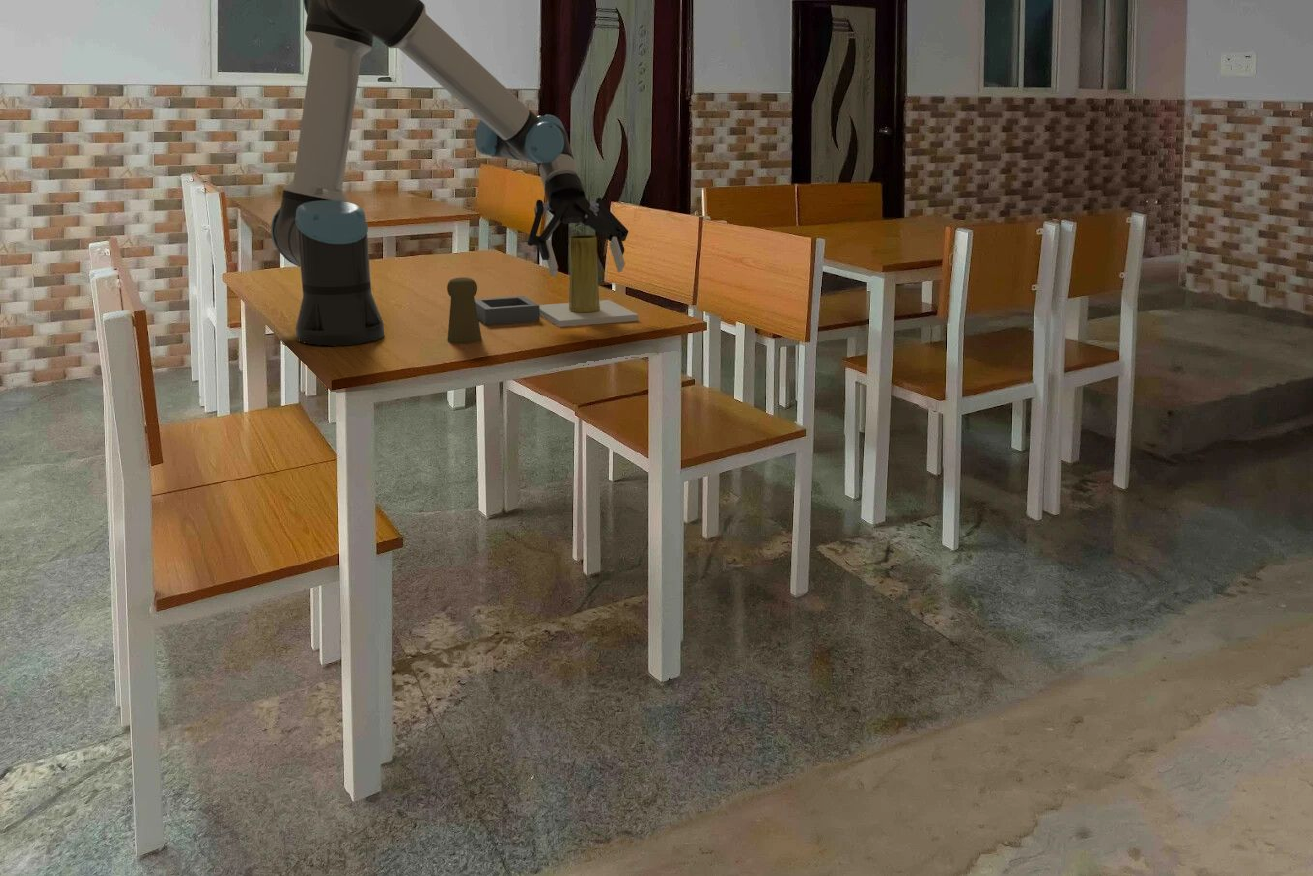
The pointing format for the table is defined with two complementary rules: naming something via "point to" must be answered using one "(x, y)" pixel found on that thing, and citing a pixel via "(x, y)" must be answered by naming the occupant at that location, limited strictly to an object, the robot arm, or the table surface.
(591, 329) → the table surface
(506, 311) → the collar
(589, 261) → the vase
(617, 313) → the board
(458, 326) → the olive brown pawn
